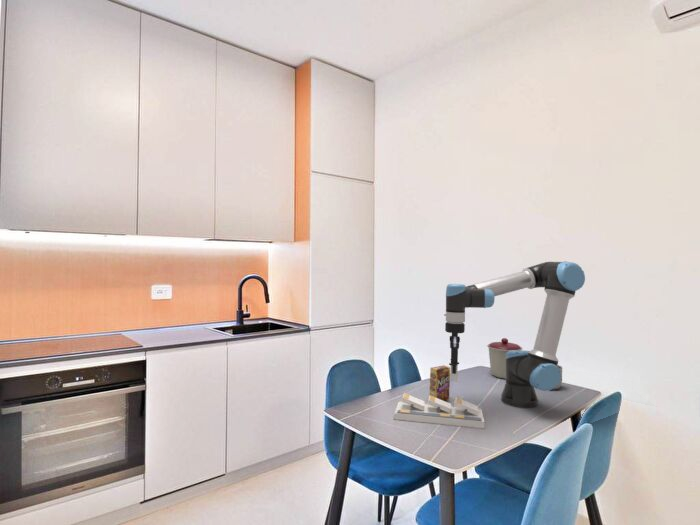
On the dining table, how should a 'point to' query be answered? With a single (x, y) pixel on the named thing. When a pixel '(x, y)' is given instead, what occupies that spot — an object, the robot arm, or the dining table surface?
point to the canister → (500, 356)
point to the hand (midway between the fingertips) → (453, 380)
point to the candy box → (440, 382)
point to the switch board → (439, 416)
